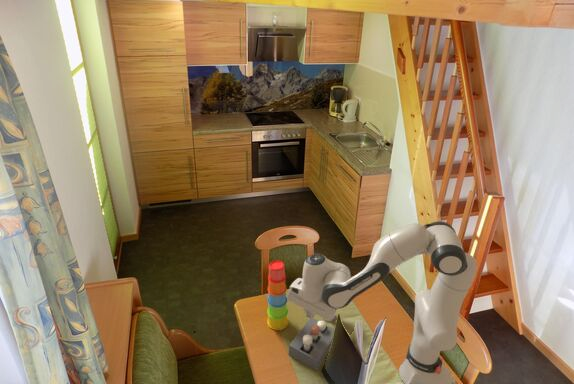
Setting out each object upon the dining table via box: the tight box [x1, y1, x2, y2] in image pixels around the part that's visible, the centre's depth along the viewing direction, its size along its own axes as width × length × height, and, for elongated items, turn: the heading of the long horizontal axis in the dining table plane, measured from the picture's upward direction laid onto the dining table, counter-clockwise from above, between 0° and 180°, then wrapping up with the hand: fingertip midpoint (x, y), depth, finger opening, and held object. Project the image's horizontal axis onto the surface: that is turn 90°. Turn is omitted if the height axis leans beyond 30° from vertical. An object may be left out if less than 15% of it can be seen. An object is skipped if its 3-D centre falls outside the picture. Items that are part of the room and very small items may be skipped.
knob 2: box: [317, 320, 327, 334], centre depth 174 cm, size 4×4×6 cm
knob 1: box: [303, 335, 313, 351], centre depth 162 cm, size 4×4×6 cm
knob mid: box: [310, 325, 320, 341], centre depth 167 cm, size 4×4×6 cm
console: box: [288, 318, 336, 371], centre depth 170 cm, size 14×19×6 cm
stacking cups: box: [266, 260, 290, 331], centre depth 175 cm, size 10×10×35 cm
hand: (309, 316), depth 155 cm, fingers closed
